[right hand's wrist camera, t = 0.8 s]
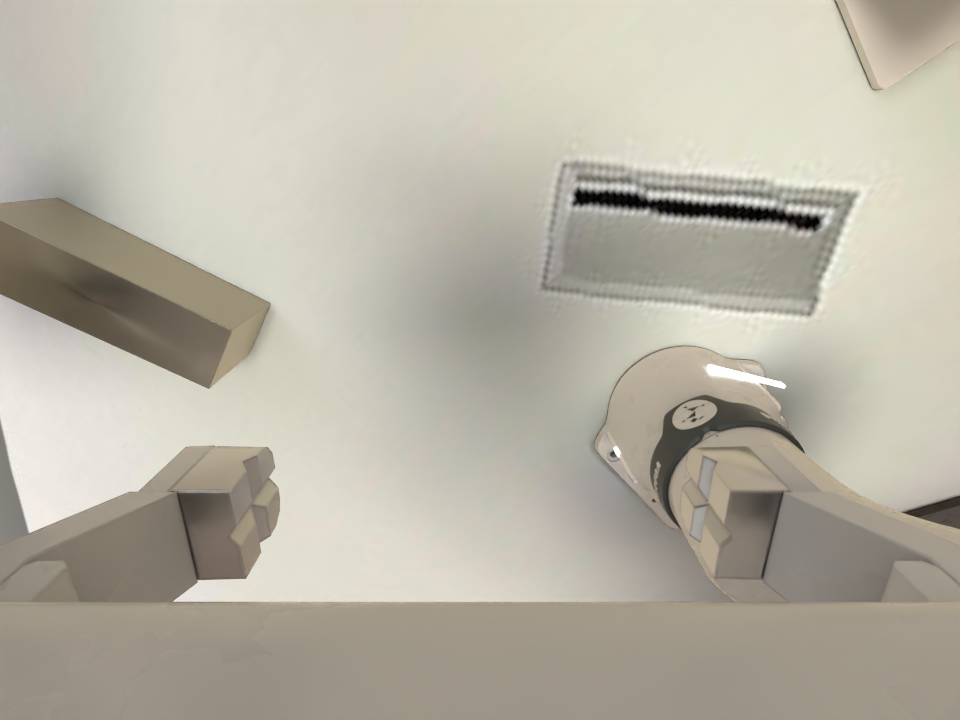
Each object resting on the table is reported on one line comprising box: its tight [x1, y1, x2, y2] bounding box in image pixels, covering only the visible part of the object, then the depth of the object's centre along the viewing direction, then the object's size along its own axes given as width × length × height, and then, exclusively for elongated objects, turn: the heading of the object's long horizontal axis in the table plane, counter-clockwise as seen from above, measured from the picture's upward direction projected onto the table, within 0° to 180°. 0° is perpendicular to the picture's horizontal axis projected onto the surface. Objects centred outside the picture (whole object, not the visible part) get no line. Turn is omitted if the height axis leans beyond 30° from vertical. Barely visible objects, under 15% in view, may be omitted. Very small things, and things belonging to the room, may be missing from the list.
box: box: [0, 198, 270, 389], centre depth 47 cm, size 21×6×9 cm, turn 61°
